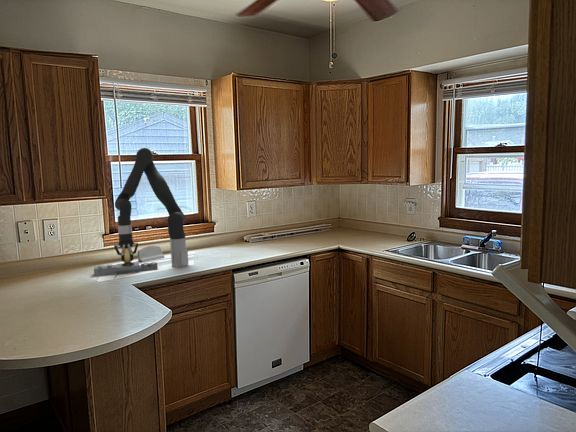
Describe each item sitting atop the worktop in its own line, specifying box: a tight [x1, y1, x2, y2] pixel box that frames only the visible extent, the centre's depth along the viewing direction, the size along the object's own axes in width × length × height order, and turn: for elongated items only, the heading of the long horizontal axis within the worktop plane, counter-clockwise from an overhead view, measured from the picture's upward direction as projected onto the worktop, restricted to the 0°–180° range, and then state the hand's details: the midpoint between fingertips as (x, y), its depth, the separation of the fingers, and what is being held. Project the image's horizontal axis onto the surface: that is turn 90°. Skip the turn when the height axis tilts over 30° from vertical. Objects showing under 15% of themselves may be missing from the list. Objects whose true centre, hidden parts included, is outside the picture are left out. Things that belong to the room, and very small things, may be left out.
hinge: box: [137, 245, 165, 263], centre depth 288 cm, size 17×5×10 cm, turn 135°
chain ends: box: [93, 261, 158, 277], centre depth 258 cm, size 35×11×5 cm, turn 110°
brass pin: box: [123, 248, 132, 266], centre depth 257 cm, size 4×4×12 cm
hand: (127, 260), depth 258 cm, fingers closed on brass pin, 4 cm apart
